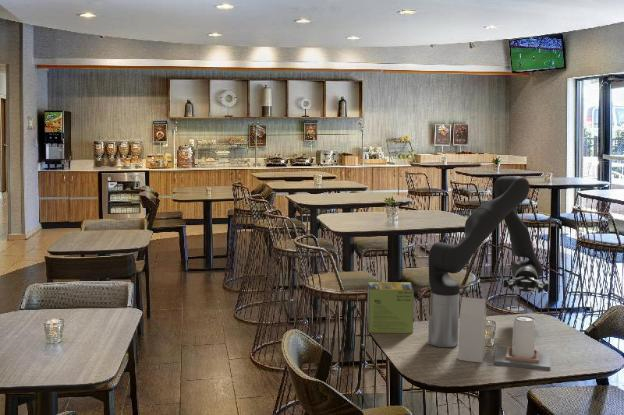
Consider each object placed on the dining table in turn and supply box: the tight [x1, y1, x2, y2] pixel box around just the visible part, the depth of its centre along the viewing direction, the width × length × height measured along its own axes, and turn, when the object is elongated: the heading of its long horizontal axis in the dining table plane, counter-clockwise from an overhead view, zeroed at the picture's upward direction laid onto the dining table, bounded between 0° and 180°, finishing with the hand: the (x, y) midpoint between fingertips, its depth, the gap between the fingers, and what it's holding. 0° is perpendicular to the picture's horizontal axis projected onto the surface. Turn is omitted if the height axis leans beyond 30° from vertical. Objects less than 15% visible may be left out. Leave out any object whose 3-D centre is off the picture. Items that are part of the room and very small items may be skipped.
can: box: [511, 315, 536, 358], centre depth 212 cm, size 6×6×12 cm
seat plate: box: [493, 344, 551, 371], centre depth 214 cm, size 16×15×2 cm
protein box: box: [366, 281, 415, 334], centre depth 242 cm, size 10×15×16 cm
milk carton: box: [457, 296, 487, 364], centre depth 213 cm, size 7×7×19 cm
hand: (525, 288), depth 224 cm, fingers open, 8 cm apart
